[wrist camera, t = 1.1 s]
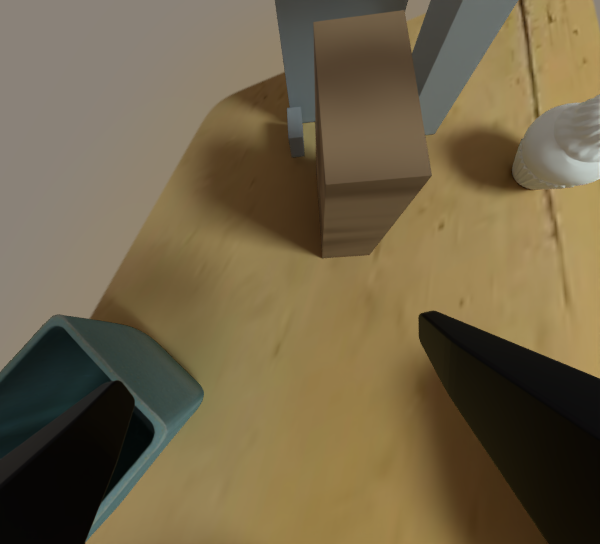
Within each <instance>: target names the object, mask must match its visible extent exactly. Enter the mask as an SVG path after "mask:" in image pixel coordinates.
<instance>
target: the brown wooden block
mask: <svg viewBox="0 0 600 544" xmlns="http://www.w3.org/2000/svg"><path fill="white" fill-rule="evenodd" d="M313 32H314V80H315V128H316V175H317V189H318V203H319V217H320V232H321V246H322V258H333V257H348V256H362V255H370V254H371V252H372V251H373V250H374V248H375V247H376V246H377V245H378V243H379V242H380V241H381V240H382V238H383V237H384V236H385V234H386V233H387V232H388V231H389V229H390V228H391V227H392V226H393V224H394V223H395V222H396V220H397V219H398V218H399V217H400V215H401V214H402V213H403V212H404V210H405V209H406V208H407V206H408V205H409V204H410V203H411V201H412V200H413V199H414V198H415V196H416V195H417V194H418V192H419V191H420V190H421V189H422V187H423V186H424V185H425V184H426V182H427V181H428V180H429V178H430V177H431V176H432V174H431V168H430V161H429V155H428V149H427V143H426V137H425V131H424V125H423V119H422V113H421V107H420V101H419V95H418V89H417V83H416V77H415V71H414V65H413V59H412V53H411V47H410V41H409V35H408V29H407V23H406V17H405V11H404V10H401V11H393V12H385V13H378V14H370V15H363V16H355V17H347V18H340V19H332V20H324V21H317V22H313Z"/></svg>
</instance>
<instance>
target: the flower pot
mask: <svg viewBox="0 0 600 544" xmlns="http://www.w3.org/2000/svg"><path fill="white" fill-rule="evenodd" d="M115 380H119V381H121V382H123V384H124V385H125V386H126V387H127V389H128V390H129V391H130V393H131V394H132V395H133V397H134V399H135V406H134V409H133V413H132V416H131V419H130V422H129V426H128V429H127V432H126V435H125V439H124V442H123V445H122V448H121V452H120V455H119V458H118V461H117V464H116V466H115V469H114V472H113V474H112V477H111V479H110V482H109V484H108V487H107V489H106V492H105V494H104V497H103V499H102V502H101V504H100V507H99V509H98V512H97V514H96V517H95V519H94V522H93V524H92V527H91V529H90V532H89V534H88V537H87V539H86V541H87V540H88V539H89V538H90V537H91V536H92V534H93V533H94V532H95V531H96V530H97V529H98V528H99V527H100V526H101V524H102V523H103V522H104V521H105V520H106V519H107V518H108V517H109V516H110V515H111V513H112V512H113V511H114V510H115V509H116V508H117V507H118V506H119V504H120V503H121V502H122V501H123V500H124V498H125V497H126V496H127V495H128V493H129V492H130V491H131V490H132V488H133V487H134V486H135V484H136V483H137V482H138V481H139V479H140V478H141V477H142V476H143V474H144V473H145V472H146V471H147V469H148V468H149V467H150V466H151V464H152V463H153V462H154V461H155V459H156V458H157V457H158V456H159V454H160V453H161V452H162V451H163V450H164V448H165V447H166V446H167V445H168V443H169V442H170V441H171V440H172V439H173V437H174V436H175V435H176V434H177V432H178V431H179V430H180V429H181V428H182V426H183V425H184V424H185V423H186V422H187V421H188V419H189V418H190V417H191V416H192V415H193V413H194V412H195V411H196V410H197V409H198V407H199V406H200V404H201V402H202V400H203V397H204V391H203V389H202V387H201V386H200V384H199V383H198V382H197V381H196V380H195V379H194V378H193V377H191V376H190V375H189V374H188V373H187V372H186V371H185V370H184V369H183V368H182V367H181V366H180V365H179V364H178V363H177V362H176V361H175V360H174V359H173V358H172V357H171V356H170V355H169V354H168V353H167V352H166V351H165V350H164V349H163V348H162V347H161V346H160V345H159V344H158V343H157V342H156V341H154V340H153V339H152V338H151V337H149V336H148V335H146V334H145V333H143V332H141V331H139V330H137V329H135V328H133V327H130V326H126V325H122V324H117V323H111V322H105V321H99V320H92V319H85V318H79V317H71V316H64V315H55V316H52V317H51V318H50V319H49V320H48V321H47V322H46V323H45V324H44V325H42V327H41V328H40V329H39V330H38V331H37V332H36V333H35V334H34V335H33V337H32V338H31V339H30V340H29V341H28V343H26V344H25V345H24V347H23V348H22V349H21V350H20V351H19V352H18V353H17V354H16V355H15V357H14V358H13V359H12V360H11V361H10V362H9V363H8V364H7V365H6V366H5V367H4V368H3V369H2V371H1V372H0V459H2V458H3V457H4V456H6V455H7V454H8V453H10V452H11V451H12V450H14V449H15V448H17V447H18V446H19V445H21V444H22V443H23V442H25V441H26V440H27V439H29V438H30V437H31V436H33V435H34V434H35V433H37V432H38V431H39V430H41V429H42V428H44V427H45V426H46V425H48V424H49V423H50V422H52V421H53V420H54V419H56V418H57V417H58V416H60V415H61V414H62V413H64V412H65V411H66V410H68V409H69V408H71V407H72V406H73V405H75V404H76V403H77V402H79V401H80V400H81V399H83V398H84V397H85V396H87V395H88V394H89V393H91V392H92V391H93V390H95V389H96V388H98V387H99V386H100V385H102V384H103V383H106V382H110V381H115Z"/></svg>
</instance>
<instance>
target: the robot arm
mask: <svg viewBox="0 0 600 544" xmlns="http://www.w3.org/2000/svg"><path fill="white" fill-rule="evenodd" d="M419 339H420V342H421V344H422V346H423V348H424V350H425V352H426V354H427V356H428V358H429V359H430V361H431V363H432V365H433V367H434V369H435V371H436V373H437V374H438V376H439V378H440V380H441V382H442V384H443V386H444V387H445V389H446V391H447V393H448V394H449V396H450V398H451V399H452V401H453V402H454V404H455V405H456V407H457V408H458V410H459V411H460V413H461V414H462V416H463V417H464V419H465V420H466V422H467V423H468V425H469V426H470V428H471V429H472V431H473V432H474V434H475V435H476V437H477V438H478V440H479V441H480V443H481V444H482V446H483V447H484V449H485V450H486V452H487V453H488V454H489V456H490V457H491V459H492V460H493V462H494V463H495V465H496V466H497V468H498V469H499V471H500V472H501V474H502V475H503V477H504V478H505V480H506V481H507V483H508V484H509V486H510V487H511V489H512V490H513V492H514V493H515V495H516V496H517V498H518V499H519V501H520V502H521V504H522V505H523V507H524V508H525V510H526V511H527V513H528V514H529V516H530V517H531V519H532V520H533V522H534V523H535V525H536V526H537V528H538V529H539V531H540V532H541V534H542V535H543V537H544V538H545V539H546V541H547V542H548V544H600V378H597V377H595V376H592V375H590V374H587V373H585V372H583V371H580V370H578V369H575V368H573V367H570V366H568V365H566V364H563V363H561V362H558V361H556V360H553V359H551V358H549V357H546V356H544V355H541V354H539V353H536V352H534V351H532V350H529V349H527V348H524V347H522V346H519V345H517V344H515V343H512V342H510V341H507V340H505V339H502V338H500V337H498V336H495V335H493V334H490V333H488V332H485V331H483V330H481V329H478V328H476V327H473V326H471V325H468V324H466V323H464V322H461V321H459V320H456V319H454V318H451V317H449V316H447V315H444V314H442V313H439V312H437V311H429V312H424V313H421V314H420V315H419ZM134 406H135V399H134V397H133V395H132V394H131V393H130V391H129V390H128V389H127V387H126V386H125V385H124V384H123V382H121V381H119V380H115V381H110V382H106V383H103V384H102V385H100V386H99V387H98V388H96V389H95V390H93V391H92V392H91V393H89V394H88V395H87V396H85V397H84V398H83V399H81V400H80V401H79V402H77V403H76V404H75V405H73V406H72V407H71V408H69V409H68V410H66V411H65V412H64V413H62V414H61V415H60V416H58V417H57V418H56V419H54V420H53V421H52V422H50V423H49V424H48V425H46V426H45V427H44V428H42V429H41V430H39V431H38V432H37V433H35V434H34V435H33V436H31V437H30V438H29V439H27V440H26V441H25V442H23V443H22V444H21V445H19V446H18V447H17V448H15V449H14V450H12V451H11V452H10V453H8V454H7V455H6V456H4V457H3V458H2V459H0V544H85V542H86V539H87V537H88V534H89V532H90V529H91V527H92V524H93V522H94V519H95V517H96V514H97V512H98V509H99V507H100V504H101V502H102V499H103V497H104V494H105V492H106V489H107V487H108V484H109V482H110V479H111V477H112V474H113V472H114V469H115V466H116V464H117V461H118V458H119V455H120V452H121V448H122V445H123V442H124V439H125V435H126V432H127V429H128V426H129V422H130V419H131V416H132V413H133V409H134Z"/></svg>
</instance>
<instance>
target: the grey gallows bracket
mask: <svg viewBox="0 0 600 544" xmlns="http://www.w3.org/2000/svg"><path fill="white" fill-rule="evenodd" d="M517 1H518V0H431V1H430V4H429V7H428V10H427V13H426V15H425V18H424V21H423V24H422V27H421V30H420V33H419V35H418V38H417V41H416V44H415V47H414V50H413V53H412V59H413V65H414V71H415V77H416V83H417V89H418V95H419V101H420V107H421V113H422V119H423V125H424V131H425V135H429V134H435V133H436V131H437V129H438V128H439V126H440V125H441V123H442V121H443V120H444V118H445V117H446V115H447V113H448V112H449V110H450V109H451V107H452V105H453V104H454V102H455V101H456V99H457V97H458V96H459V94H460V93H461V91H462V89H463V88H464V86H465V85H466V83H467V81H468V80H469V78H470V77H471V75H472V73H473V72H474V70H475V69H476V67H477V65H478V64H479V62H480V61H481V59H482V57H483V56H484V54H485V53H486V51H487V49H488V48H489V46H490V45H491V43H492V41H493V40H494V38H495V37H496V35H497V33H498V32H499V30H500V29H501V27H502V25H503V24H504V22H505V21H506V19H507V17H508V16H509V14H510V13H511V11H512V9H513V8H514V6H515V5H516V3H517ZM407 2H408V0H275V5H276V12H277V19H278V26H279V33H280V40H281V48H282V55H283V62H284V69H285V76H286V84H287V91H288V98H289V105H290V108H287V118H288V138H289V144H290V150H291V156H292V157H301V156H304V141H303V125H302V123H306V122H315V80H314V32H313V22H317V21H324V20H332V19H340V18H347V17H355V16H363V15H370V14H378V13H385V12H393V11H401V10H404V11H405V9H406V6H407Z"/></svg>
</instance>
